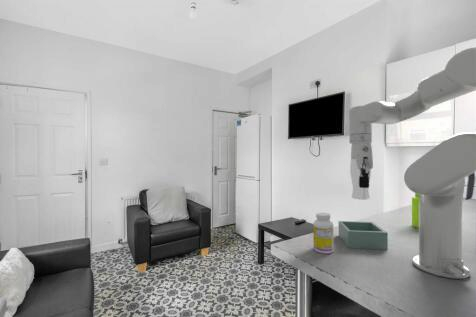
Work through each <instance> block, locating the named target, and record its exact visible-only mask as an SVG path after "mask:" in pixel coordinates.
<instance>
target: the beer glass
mask: <svg viewBox="0 0 476 317" xmlns="http://www.w3.org/2000/svg"><path fill="white" fill-rule="evenodd" d="M361 167H362V168H365V166H364V163H363V164H362V165H361ZM349 169H350V172H349V173H350V179H351V184H352V194H351V198H352V199H354V200H364V201H365V200H370V198H371V197H370V193H369V188H360V187H359V177H360V169H358V168H357V163H356V159H351V158H350V168H349ZM369 171H370V172H369V183H371V182H370V181H371V177H372V176H371V174H372V169H370V170H369ZM362 173H363V170H362Z"/></svg>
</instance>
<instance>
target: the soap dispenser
mask: <svg viewBox="0 0 476 317" xmlns="http://www.w3.org/2000/svg"><path fill="white" fill-rule="evenodd" d="M414 195H415V196H412V197H411V226H412V227H413V228H418V229H419V200H420V194H417V193H414Z"/></svg>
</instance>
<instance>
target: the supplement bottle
mask: <svg viewBox="0 0 476 317" xmlns="http://www.w3.org/2000/svg"><path fill="white" fill-rule="evenodd" d="M315 217H316V218H315V220H314V221H313V224H312V225H313V228H312V229H313V234H312V235H313V249H314V251H315V252H317V253H319V254H323V255H324V254H326V255H327V254H333V252H334V250H335V248H334V245H335V242H334V241H335V240H334V237H335V236H334V223H333V222H332V221H331V220H330V219H331V214H330V213H328V212H316V213H315Z"/></svg>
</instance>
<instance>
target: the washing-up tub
mask: <svg viewBox="0 0 476 317" xmlns="http://www.w3.org/2000/svg"><path fill="white" fill-rule="evenodd" d="M388 234H389V233H388V232H387V231H386V230H385V229H383V228H381V227H380V226H378V225H377V224H376V223H374V222H372V221H349V220H348V221H347V220H338V237H339V238H340V239H341V241H342V242H343V243H344V244H345V245H346V247H347V248H349V249H366V250H384V251H385V250H387V251H388V245H389V244H388V241H389V240H388Z"/></svg>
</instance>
